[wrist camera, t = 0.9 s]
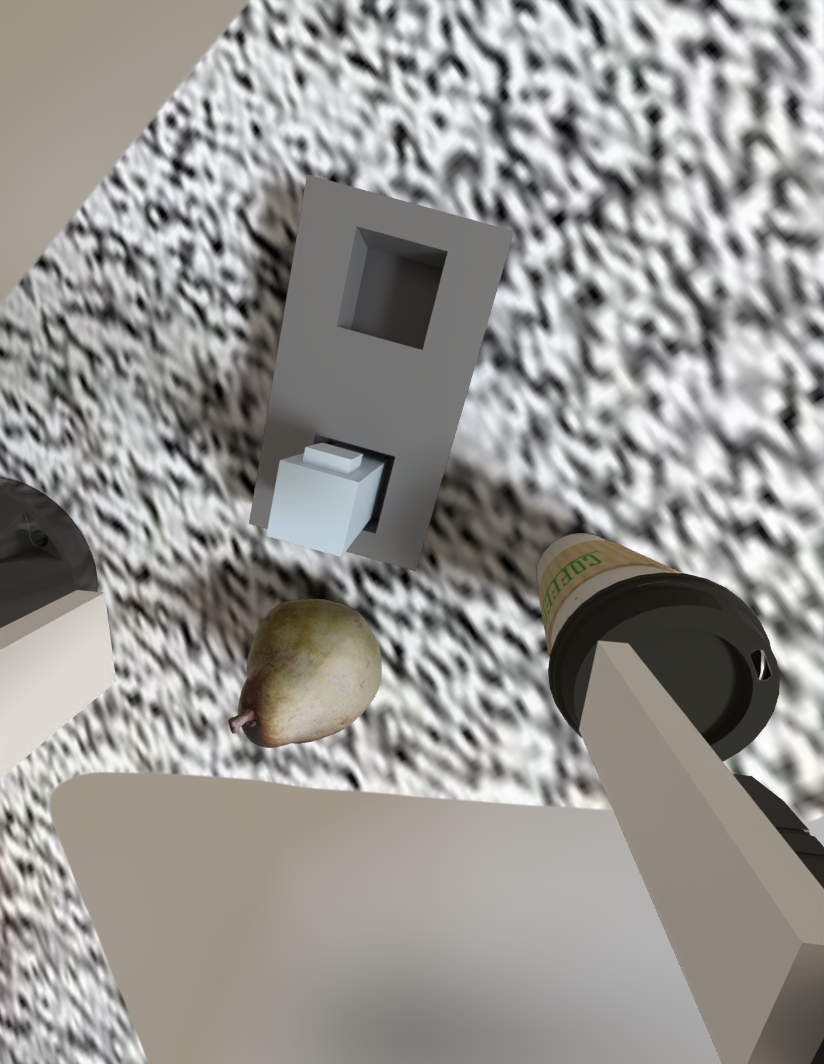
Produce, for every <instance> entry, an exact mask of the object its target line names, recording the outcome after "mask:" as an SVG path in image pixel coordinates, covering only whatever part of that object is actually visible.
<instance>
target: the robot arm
mask: <svg viewBox="0 0 824 1064" xmlns="http://www.w3.org/2000/svg"><path fill="white" fill-rule="evenodd" d="M97 587H98V583H97V572H96V567H95V563H94V559H93V556H92V553H91V551H90V549H89V546H88V544H87V542H86V540H85V538H84V537H83V535H82V533H81V532H80V530H79V529H78V527H77V526H76V525H75V523H74V522H73V521H72V520H71V518H70V517H69V516H68V515H67V514H66V513H65V512H64V511H63V510H62V509H61V508H60V507H59V506H58V505H57V504H55V503H54V502H53V501H52V500H50V499H49V498H48V497H46V496H45V495H43V494H41V493H40V492H38V491H36V490H35V489H33V488H31V487H29V486H26V485H24V484H21V483H19V482H15V481H12V480H8V479H3V478H0V778H1V777H3V776H4V775H5V774H6V773H7V772H9V771H10V770H11V769H12V768H13V767H15V766H16V765H17V764H18V763H19V762H20V761H22V760H23V759H24V758H25V757H26V756H28V755H29V754H30V753H31V752H32V751H34V750H35V749H36V748H37V747H38V746H40V745H41V744H42V743H43V742H44V741H45V740H47V739H48V738H49V737H50V736H51V735H53V734H54V733H55V732H56V731H57V730H59V729H60V728H61V727H62V726H63V725H64V724H66V723H67V722H68V721H69V720H70V719H72V718H73V717H74V716H75V715H76V714H78V713H79V712H80V711H81V710H82V709H84V708H85V707H86V706H87V705H88V704H89V703H91V702H92V701H93V700H94V699H95V698H97V697H98V696H99V695H100V694H101V693H103V692H104V691H105V690H106V689H107V688H108V687H110V686H111V685H112V684H113V683H114V682H116V678H115V670H114V662H113V655H112V647H111V639H110V632H109V624H108V616H107V608H106V601H105V593H103V592H97ZM579 731H580V734H581V736H582V738H583V741H584V743H585V745H586V748H587V750H588V752H589V755H590V757H591V759H592V762H593V764H594V766H595V769H596V771H597V773H598V776H599V778H600V780H601V783H602V785H603V787H604V790H605V792H606V794H607V797H608V799H609V801H610V804H611V806H612V808H613V811H614V813H615V815H616V818H617V820H618V822H619V825H620V827H621V829H622V831H623V834H624V836H625V838H626V841H627V843H628V846H629V848H630V850H631V853H632V855H633V857H634V860H635V862H636V864H637V866H638V869H639V871H640V874H641V876H642V878H643V881H644V883H645V885H646V887H647V890H648V892H649V894H650V897H651V899H652V902H653V904H654V906H655V909H656V911H657V913H658V916H659V918H660V920H661V923H662V925H663V927H664V929H665V931H666V934H667V937H668V939H669V941H670V943H671V946H672V948H673V951H674V953H675V955H676V958H677V960H678V962H679V965H680V967H681V969H682V971H683V974H684V976H685V979H686V981H687V983H688V986H689V988H690V990H691V992H692V995H693V997H694V999H695V1002H696V1004H697V1006H698V1009H699V1011H700V1013H701V1016H702V1018H703V1020H704V1023H705V1025H706V1027H707V1030H708V1032H709V1034H710V1037H711V1039H712V1041H713V1044H714V1046H715V1048H716V1051H717V1053H718V1055H719V1058H720V1060H721V1062H722V1064H824V847H823V846H822V845H821V843H820V842H819V841H818V840H817V839H816V838H815V837H814V836H811V835H810V834H809V830H808V828H807V827H806V826H805V825H804V824H803V823H802V822H801V820H800V819H799V818H798V817H797V816H796V815H795V813H794V812H793V811H792V810H791V809H790V808H789V807H788V805H787V804H786V803H785V802H784V801H783V800H782V799H780V798H779V797H778V796H776V795H775V794H774V793H773V792H771V791H770V790H769V789H767V788H766V787H765V786H764V785H762V784H761V783H760V782H758V781H757V780H756V779H755V778H753V777H752V776H745V775H736V774H732V773H731V772H730V771H729V769H728V768H727V767H726V766H725V764H724V763H723V762H722V761H721V759H720V758H719V757H718V756H717V754H716V753H715V752H714V750H713V749H712V748H711V747H710V745H709V744H708V743H707V742H706V740H705V739H704V738H703V737H702V735H701V734H700V733H699V732H698V730H697V729H696V728H695V727H694V725H693V724H692V723H691V722H690V720H689V719H688V718H687V717H686V715H685V714H684V713H683V712H682V710H681V709H680V708H679V707H678V705H677V704H676V703H675V701H674V700H673V699H672V698H671V696H670V695H669V694H668V693H667V691H666V690H665V689H664V688H663V686H662V685H661V684H660V683H659V681H658V680H657V679H656V678H655V676H654V675H653V674H652V673H651V671H650V670H649V669H648V668H647V666H646V665H645V664H644V663H643V661H642V660H641V659H640V658H639V656H638V655H637V654H636V653H635V651H634V650H633V649H632V647H631V646H630V645H629V644H628V643H618V642H608V641H598V643H597V648H596V653H595V657H594V662H593V667H592V671H591V676H590V681H589V685H588V690H587V695H586V699H585V704H584V709H583V713H582V718H581V723H580V727H579Z"/></svg>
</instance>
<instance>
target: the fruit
mask: <svg viewBox="0 0 824 1064" xmlns="http://www.w3.org/2000/svg"><path fill="white" fill-rule="evenodd" d="M380 682H381V653H380V648H379V645H378V642H377V640H376V638H375V636H374V635H373V633H372V632H371V630H370V628H369V626H368V624H367V622H366V621H365V619H364V618H363V617H362V616H361V615H360V614H359V613H358V612H357V611H356V610H354V609H353V608H351V607H349V606H346V605H344V604H341V603H336V602H333V601H329V600H325V599H298V600H291V601H287V602H284V603H281V604H279V605H277V606H276V607H275V608H274V609H272V610H271V611H270V612H269V614H268V615H267V616H266V617H265V619H264V620H263V621H262V623H261V624H260V626H259V627H258V629H257V632H256V634H255V637H254V640H253V643H252V646H251V648H250V652H249V656H248V661H247V680H246V682H245V684H244V686H243V688H242V692H241V696H240V701H239V706H238V714H239V715H237V716H236V717H232V718H230V719H229V721H228V723H229V726H230V729H231V732H232V733H236V732H237V731H238V730H239V729H240V727H241V726H242V729H243V731H244V733H245V734H246V736H247V737H248V739H249V740H250V741H251V742H253V743H254V744H256V745H259V746H262V747H266V748H274V747H279V746H284V745H287V744H290V743H297V744H300V743H306V742H312V741H315V740H319V739H321V738H324V737H327V736H330V735H332V734H335V733H337V732H340V731H341V730H343V729H344V728H346V727H347V726H349V725H350V724H351V723H352V722H354V721H355V720H356V719H357V718H358V717H359V716H360V715H361V714H362V713H363V712H364V711H365V710H366V708H367V707H368V706H369V704H370V703H371V702H372V700H373V699H374V697H375V695H376V693H377V691H378V688H379V685H380Z"/></svg>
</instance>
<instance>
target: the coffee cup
mask: <svg viewBox="0 0 824 1064" xmlns="http://www.w3.org/2000/svg"><path fill="white" fill-rule="evenodd" d="M537 580H538V585H539V600H540V606H541V612H542V618H543V623H544V629H545V635H546V640H547V646H548V652H549V656H550V660H549V668H548V674H549V684H550V689H551V692H552V695H553V698H554V701H555V704H556V706H557V707H558V709H559V710H560V712H561V714H562V715H563V717H564V718H565V720H566V721H567V723H568V724H569V725H570V726H571V727H572V728H573V729H574V730H575V731H576V732H577V734H578V735H579V736H580V737H581V738H582V736H581V734H580V731H579V727H580V723H581V718H582V713H583V709H584V704H585V699H586V695H587V690H588V685H589V681H590V676H591V671H592V667H593V662H594V657H595V653H596V648H597V643H598V641H608V642H618V643H628V644H629V645H630V646H631V647H632V649H633V650H634V651H635V653H636V654H637V655H638V656H639V658H640V659H641V660H642V661H643V663H644V664H645V665H646V666H647V668H648V669H649V670H650V671H651V673H652V674H653V675H654V676H655V678H656V679H657V680H658V681H659V683H660V684H661V685H662V686H663V688H664V689H665V690H666V691H667V693H668V694H669V695H670V696H671V698H672V699H673V700H674V701H675V703H676V704H677V705H678V707H679V708H680V709H681V710H682V712H683V713H684V714H685V715H686V717H687V718H688V719H689V720H690V722H691V723H692V724H693V725H694V727H695V728H696V729H697V730H698V732H699V733H700V734H701V735H702V737H703V738H704V739H705V740H706V742H707V743H708V744H709V745H710V747H711V748H712V749H713V750H714V752H715V753H716V754H717V756H718V757H719V758H720V759H721V761H722V762H723V761H725V760H727V759H728V758H730V757H732V756H734V755H735V754H737V753H739V752H740V751H741V750H742V749H744V748H745V747H746V746H747V745H749V744H750V743H751V742H752V741H753V740H754V739H755V738H756V737H757V736H758V735H759V733H760V732H761V731H762V730H763V729H764V727H765V726H766V724H767V723H768V721H769V719H770V717H771V715H772V714H773V712H774V709H775V706H776V703H777V699H778V696H779V684H780V675H779V670H778V666H777V661H776V658H775V656H774V654H773V652H772V650H771V646H770V642H769V639H768V637H767V635H766V633H765V631H764V629H763V627H762V624H761V622H760V621H759V619H758V618H757V617H756V616H755V615H754V613H753V612H752V611H751V610H750V609H749V607H748V606H747V605H746V604H745V603H744V602H743V601H742V600H741V599H740V598H739V597H737V596H736V595H735V594H733V593H732V592H731V591H729V590H728V589H727V588H725V587H723V586H721V585H719V584H717V583H715V582H712V581H710V580H708V579H705V578H701V577H697V576H693V575H689V574H684V573H680V572H678V571H676V570H674V569H672V568H669V567H667V566H665V565H663V564H661V563H659V562H656V561H654V560H652V559H650V558H648V557H645V556H643V555H641V554H639V553H637V552H635V551H632V550H630V549H628V548H626V547H624V546H622V545H619V544H617V543H613V542H609V541H607V540H605V539H603V538H600V537H598V536H596V535H592V534H588V533H576V534H570V535H567V536H564V537H562V538H560V539H558V540H556V541H555V542H554V543H552V544H551V545H550V546H549V547H548V548H547V549H546V550H545V551H544V553H543V555H542V556H541V558H540V561H539V564H538V568H537ZM761 650H763V652H764V655H765V663H764V671H763V674H762V678H761V680H759V676H760V673H761Z"/></svg>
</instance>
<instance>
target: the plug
mask: <svg viewBox="0 0 824 1064" xmlns="http://www.w3.org/2000/svg"><path fill="white" fill-rule="evenodd" d="M389 460H390V458H386V457H382V456H379V455H375V454H372V453H368V452H365V451H361V450H358V449H354V448H350V447H347V446H343V445H340V444H334V445H329V444H325V443H319V444H315V445H311V446H307V447H305V451H304V453H303V454H299V455H296V456H292V457H289V458H285V459H282V460H280V462H279V468H278V474H277V479H276V485H275V490H274V496H273V501H272V507H271V513H270V518H269V524H268V529H267V535H266V536H268V537H272V538H275V539H279V540H282V541H286V542H290V543H293V544H297V545H300V546H304V547H307V548H311V549H314V550H318V551H321V552H325V553H328V554H332V555H335V556H339V557H342V556H343V554H344V553H345V552H346V550H347V549H348V548H349V546H350V545H351V544H352V542H353V541H354V540H355V538H356V537H357V536H358V534H359V533H360V532H361V530H362V529H363V528H364V527H365V525H366V524H367V523H368V521H369V520H370V519H371V517H372V516H373V515H374V513H375V512H376V511H377V507H378V503H379V499H380V495H381V491H382V487H383V483H384V479H385V476H386V472H387V468H388V464H389Z"/></svg>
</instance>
